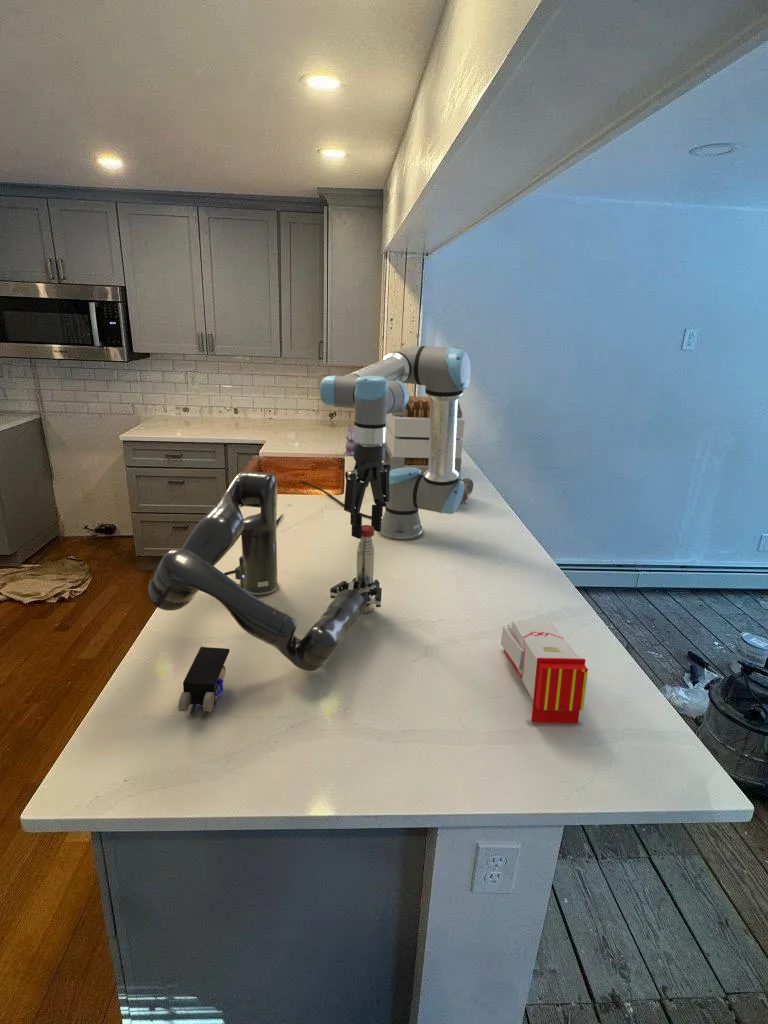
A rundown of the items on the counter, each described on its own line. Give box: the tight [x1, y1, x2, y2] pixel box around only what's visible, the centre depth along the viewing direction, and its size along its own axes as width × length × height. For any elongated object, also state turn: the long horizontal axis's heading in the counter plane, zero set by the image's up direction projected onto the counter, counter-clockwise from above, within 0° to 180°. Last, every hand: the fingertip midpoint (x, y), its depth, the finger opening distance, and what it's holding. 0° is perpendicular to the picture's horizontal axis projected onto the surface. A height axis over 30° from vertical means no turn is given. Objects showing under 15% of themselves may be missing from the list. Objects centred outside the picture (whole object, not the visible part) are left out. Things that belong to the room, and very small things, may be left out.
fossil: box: [458, 477, 474, 508], centre depth 233 cm, size 22×10×15 cm
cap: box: [361, 524, 375, 537], centre depth 142 cm, size 4×4×2 cm
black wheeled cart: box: [178, 646, 230, 717], centre depth 112 cm, size 7×8×15 cm
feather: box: [276, 513, 284, 527], centre depth 210 cm, size 2×28×2 cm
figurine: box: [344, 425, 356, 456], centre depth 303 cm, size 9×10×15 cm
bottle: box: [355, 536, 375, 614], centre depth 146 cm, size 4×4×22 cm
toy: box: [500, 620, 589, 724], centre depth 121 cm, size 12×13×30 cm
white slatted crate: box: [383, 395, 465, 479], centre depth 268 cm, size 34×33×41 cm
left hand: (368, 581), depth 150 cm, fingers closed on bottle, 4 cm apart
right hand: (366, 533), depth 142 cm, fingers open, 6 cm apart
